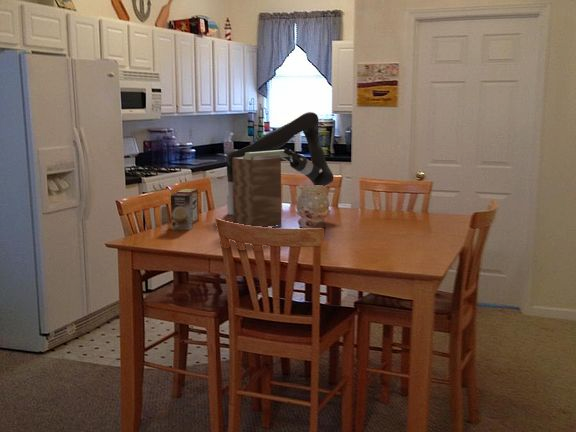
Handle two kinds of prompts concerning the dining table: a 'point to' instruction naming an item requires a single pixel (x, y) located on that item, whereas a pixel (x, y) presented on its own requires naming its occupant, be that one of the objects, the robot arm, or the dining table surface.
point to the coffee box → (181, 211)
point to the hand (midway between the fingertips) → (279, 149)
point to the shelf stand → (257, 190)
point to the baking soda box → (195, 201)
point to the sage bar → (265, 154)
